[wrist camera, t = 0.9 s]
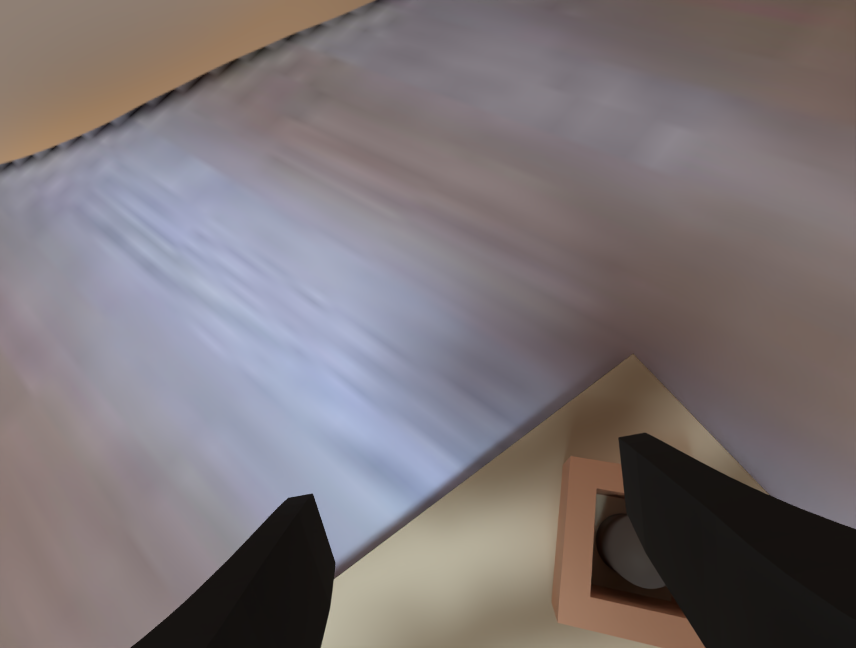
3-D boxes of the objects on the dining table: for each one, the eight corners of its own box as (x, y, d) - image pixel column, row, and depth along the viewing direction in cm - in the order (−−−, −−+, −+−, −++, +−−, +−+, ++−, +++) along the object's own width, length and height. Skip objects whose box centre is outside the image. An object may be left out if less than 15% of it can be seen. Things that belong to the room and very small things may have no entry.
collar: (697, 487, 21) (735, 482, 17) (698, 636, 19) (740, 666, 15) (562, 464, 22) (570, 455, 18) (551, 601, 20) (557, 622, 16)
